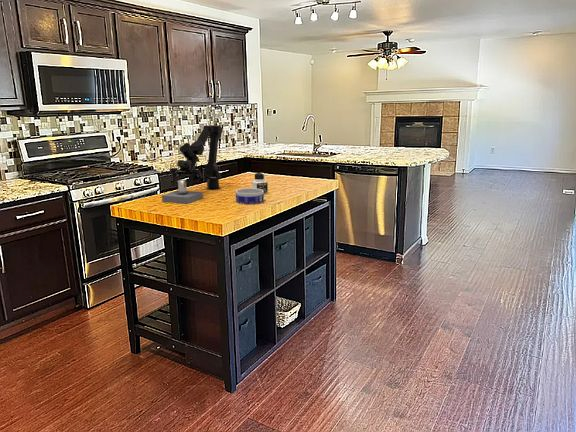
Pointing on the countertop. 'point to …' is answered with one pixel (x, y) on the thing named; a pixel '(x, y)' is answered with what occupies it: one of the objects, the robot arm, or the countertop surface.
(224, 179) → the countertop surface
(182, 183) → the peg
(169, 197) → the socket block
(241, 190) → the dog bowl
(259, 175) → the medicine bottle
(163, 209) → the countertop surface
